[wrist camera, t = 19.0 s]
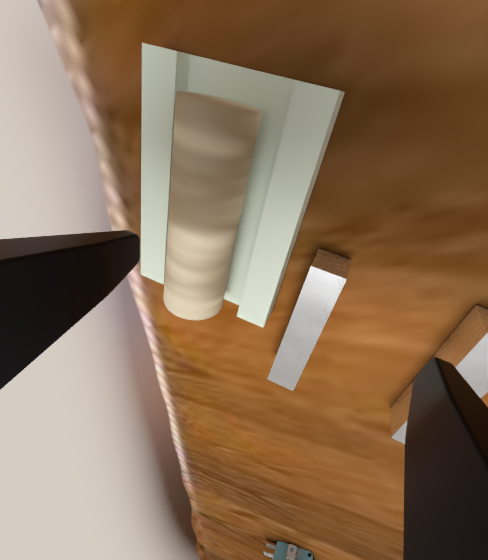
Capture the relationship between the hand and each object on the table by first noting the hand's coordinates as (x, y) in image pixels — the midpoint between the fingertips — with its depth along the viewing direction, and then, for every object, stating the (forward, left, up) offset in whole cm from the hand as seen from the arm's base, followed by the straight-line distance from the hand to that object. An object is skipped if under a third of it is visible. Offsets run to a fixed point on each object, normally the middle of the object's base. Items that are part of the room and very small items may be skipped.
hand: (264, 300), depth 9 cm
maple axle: (+6, +2, -10) cm, 12 cm away
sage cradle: (+6, +2, -11) cm, 12 cm away
